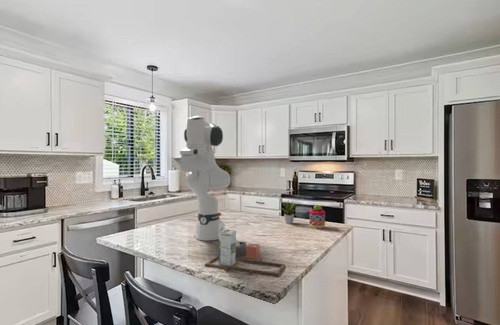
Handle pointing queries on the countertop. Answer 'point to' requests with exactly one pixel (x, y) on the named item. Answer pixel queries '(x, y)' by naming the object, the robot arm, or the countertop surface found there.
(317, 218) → the potted succulent
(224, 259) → the syrup box
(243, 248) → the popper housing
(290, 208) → the house plant
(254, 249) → the die
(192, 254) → the countertop surface
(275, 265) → the frame
